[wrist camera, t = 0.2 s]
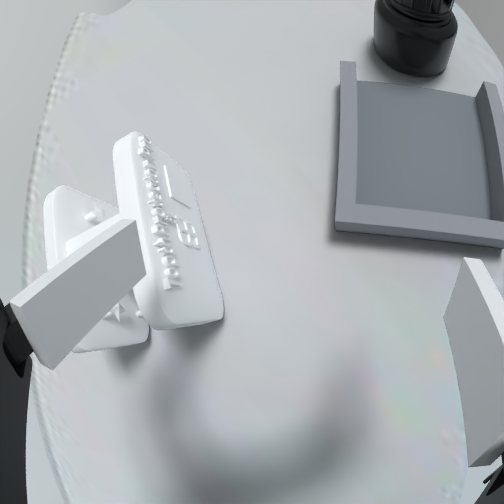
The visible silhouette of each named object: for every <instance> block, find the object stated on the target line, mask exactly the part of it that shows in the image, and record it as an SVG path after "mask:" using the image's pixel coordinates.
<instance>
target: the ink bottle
mask: <svg viewBox="0 0 504 504" xmlns="http://www.w3.org/2000/svg"><path fill="white" fill-rule="evenodd" d="M453 4H454V0H376V1H375V7H374V44H375V48H376V50H377V52H378V54H379V55H380V57H381V58H382V59H383V60H384V61H385V62H386V63H387V64H388V65H389V66H391V67H392V68H394V69H396V70H398V71H400V72H403V73H406V74H410V75H415V76H432V75H436V74H438V73H440V72H442V71H443V70H444V69H445V68H446V66H447V63H448V60H449V57H450V54H451V51H452V48H453V44H454V41H455V38H456V34H457V29H458V25H457V20H456V18H455V16H454V14H453V12H452V11H451V10H452V7H453Z"/></svg>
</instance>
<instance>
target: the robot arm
mask: <svg viewBox="0 0 504 504" xmlns="http://www.w3.org/2000/svg"><path fill="white" fill-rule="evenodd" d="M146 275H147V274H146V269H145V265H144V260H143V255H142V250H141V245H140V239H139V234H138V229H137V223H136V220H132V219H121V220H120V221H118V222H117V223H115V224H114V225H112V226H111V227H109V228H108V229H106V230H105V231H103V232H102V233H100V234H99V235H97V236H96V237H94V238H93V239H92V240H90V241H89V242H87V243H86V244H84V245H83V246H81V247H80V248H79V249H77V250H76V251H74V252H73V253H72V254H70V255H69V256H67V257H66V258H65V259H63V260H62V261H61V262H59V263H58V264H56V265H55V266H54V267H52V268H51V269H50V270H48V271H47V272H46V273H44V274H43V275H42V276H41V277H39V278H38V279H37V280H35V281H34V282H33V283H31V284H30V285H29V286H28V287H26V288H25V289H24V290H23V291H21V292H20V293H19V294H18V295H16V296H15V297H14V298H13V299H11V300H10V301H9V304H8V305H6V306H5V307H4V305H3V303H2V301H1V299H0V504H27V490H26V457H25V456H26V423H27V408H28V397H29V387H30V379H31V371H32V359H31V357H30V356H29V355H30V354H31V353H32V352H33V351H34V353H35V355H36V356H37V358H38V360H39V362H40V363H41V364H43V365H44V366H46V367H48V368H50V369H51V370H54V369H55V368H56V366H57V365H58V364H59V363H60V362H61V361H62V360H63V359H64V358H65V357H66V356H67V355H68V354H69V352H70V351H71V350H72V349H73V348H74V347H75V346H76V345H77V344H78V343H79V342H80V341H81V340H82V339H83V338H84V337H85V336H86V335H87V334H88V333H89V331H90V330H91V329H92V328H93V327H94V326H95V325H96V324H97V323H98V322H99V321H100V320H101V319H102V318H103V317H104V316H105V315H106V314H107V313H108V312H109V311H110V310H111V309H112V308H113V307H114V306H115V305H116V304H117V303H118V302H119V301H120V300H121V299H122V298H123V297H124V296H125V295H126V294H127V293H128V292H129V291H130V290H131V289H132V288H133V287H134V286H135V285H136V284H137V283H138V282H139V281H140V280H141V279H142V278H144V277H145V276H146ZM443 318H444V321H445V325H446V329H447V333H448V337H449V342H450V346H451V350H452V355H453V359H454V364H455V369H456V374H457V379H458V385H459V391H460V397H461V403H462V410H463V417H464V425H465V434H466V444H467V456H468V467H477V466H487V465H491V464H492V463H493V462H494V461H495V460H496V459H497V458H498V457H499V456H500V455H502V463H503V464H502V465H501V466H500V467H499V468H498V469H497V470H496V471H494V472H493V473H492V474H491V475H489V476H488V477H487V478H486V479H485V480H484V481H483V483H484V484H485V483H487V482H488V481H489V480H490V482H489V483H488V485H487V486H486V488H485V489H484V491H483V492H482V494H481V495H480V497H479V498H478V499H477V501H476V502H475V504H504V300H503V298H502V296H501V295H500V293H499V291H498V289H497V287H496V285H495V283H494V282H493V280H492V278H491V276H490V275H489V273H488V271H487V269H486V268H485V266H484V264H483V263H482V261H481V259H474V258H467V257H464V258H463V261H462V264H461V268H460V271H459V274H458V277H457V281H456V284H455V287H454V290H453V293H452V296H451V298H450V301H449V304H448V307H447V310H446V312H445V315H444V317H443Z"/></svg>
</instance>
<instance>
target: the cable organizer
mask: <svg viewBox="0 0 504 504" xmlns="http://www.w3.org/2000/svg"><path fill="white" fill-rule="evenodd" d="M113 166H114V175H115V184H116V192H117V200H118V207H119V209H118V208H117V207H115V206H112V205H110V204H108V203H105V202H103V201H101V200H98V199H96V198H94V197H91V196H89V195H86V194H84V193H82V192H79V191H77V190H75V189H72V188H70V187H68V186H65V185H61V186H59V187H57V188H56V189H54V190H53V191H52V192H50V193H49V194H48V195H47V197H46V198H45V201H44V207H43V215H44V234H45V248H46V259H47V269H48V270H50V269H51V268H52V267H54V266H55V265H56V264H58V263H59V262H61V261H62V260H63V259H65V258H66V257H67V256H69V255H70V254H72V253H73V252H74V251H76V250H77V249H79V248H80V247H81V246H83V245H84V244H86V243H87V242H89V241H90V240H92V239H93V238H94V237H96V236H97V235H99V234H100V233H102V232H103V231H105V230H106V229H108V228H109V227H111V226H112V225H114V224H115V223H117V222H118V221H120V220H121V219H132V220H136V223H137V229H138V234H139V239H140V245H141V250H142V255H143V260H144V265H145V269H146V274H147V275H146V276H145V277H144V278H142V279H141V280H140V281H139V282H138V283H137V284H136V285H135V286H134V287H133V288H132V289H131V290H130V291H129V292H128V293H127V294H126V295H125V296H124V297H123V298H122V299H121V300H120V301H119V302H118V303H117V304H116V305H115V306H114V307H113V308H112V309H111V310H110V311H109V312H108V313H107V314H106V315H105V316H104V317H103V318H102V319H101V320H100V321H99V322H98V323H97V324H96V325H95V326H94V327H93V328H92V329H91V330H90V331H89V333H88V334H87V335H86V336H85V337H84V338H83V339H82V340H81V341H80V342H79V343H78V344H77V345H76V346H75V347H74V348H73V349H72V350H71V351H72V352H74V353H84V352H91V351H98V350H105V349H111V348H118V347H124V346H130V345H135V344H139V343H143V342H145V341H146V340H147V338H148V334H149V325H150V326H151V327H152V328H153V329H155V330H166V329H173V328H180V327H187V326H194V325H201V324H206V323H210V322H213V321H217V320H220V319H222V317H223V313H224V306H223V299H222V294H221V290H220V287H219V283H218V280H217V276H216V272H215V269H214V265H213V261H212V258H211V254H210V250H209V246H208V243H207V239H206V235H205V231H204V227H203V223H202V220H201V216H200V212H199V208H198V204H197V200H196V196H195V192H194V188H193V185H192V183H191V180H190V178H189V176H188V174H187V173H186V171H185V170H184V168H183V167H181V166H180V165H179V164H178V163H176V162H175V161H174V160H173V159H171V158H170V157H169V156H168V155H166V154H165V153H164V152H163V151H161V150H160V149H159V148H158V147H156V146H155V145H154V144H153V143H152V141H151V140H150V139H149V138H148V137H147V136H145V135H141V134H140V133H139V132H135V131H134V132H132V133H130V134H128V135H127V136H125V137H123V138H122V139H120V140H118V141H117V142H116V143H115V145H114V147H113Z"/></svg>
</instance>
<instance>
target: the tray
mask: <svg viewBox="0 0 504 504" xmlns="http://www.w3.org/2000/svg"><path fill="white" fill-rule="evenodd" d="M335 229H336V231H346V232H357V233H367V234H377V235H387V236H397V237H407V238H416V239H425V240H434V241H443V242H452V243H460V244H469V245H477V246H485V247H493V248H500V249H504V112H503V108H502V104H501V101H500V97H499V93H498V90H497V86H496V84H492V83H488V82H485V81H484V82H483V84H482V86H481V88H480V90H479V92H478V94H477V95H476V97H471V96H466V95H461V94H456V93H451V92H446V91H440V90H434V89H428V88H422V87H415V86H407V85H399V84H390V83H380V82H368V81H357V80H356V62H349V61H340V139H339V164H338V183H337V198H336V212H335Z"/></svg>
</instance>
